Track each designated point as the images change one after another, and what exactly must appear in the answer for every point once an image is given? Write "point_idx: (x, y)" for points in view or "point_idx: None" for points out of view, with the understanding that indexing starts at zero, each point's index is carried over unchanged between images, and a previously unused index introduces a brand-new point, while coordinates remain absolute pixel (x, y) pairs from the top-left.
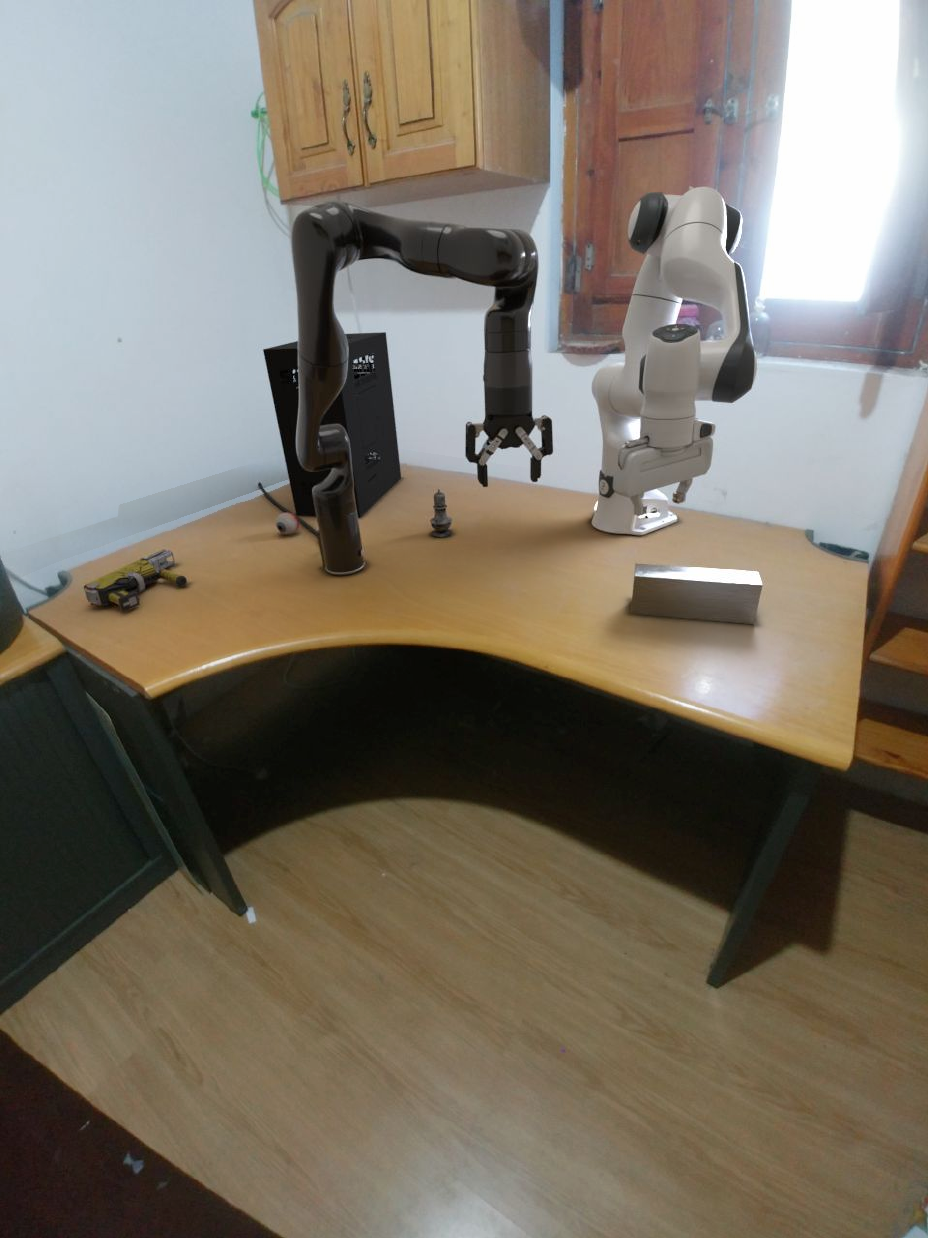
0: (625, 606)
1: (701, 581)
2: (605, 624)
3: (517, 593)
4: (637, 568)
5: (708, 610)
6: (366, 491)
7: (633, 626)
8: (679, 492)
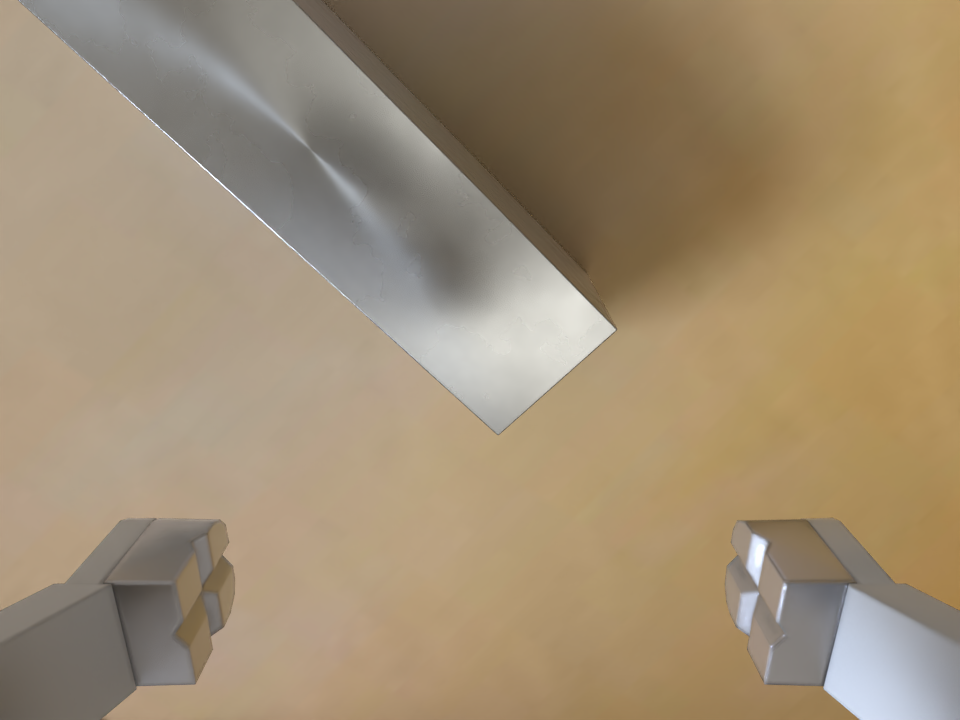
0: None
1: (350, 58)
2: (736, 267)
3: None
4: (534, 387)
5: (343, 28)
6: None
7: (657, 188)
8: (124, 644)
